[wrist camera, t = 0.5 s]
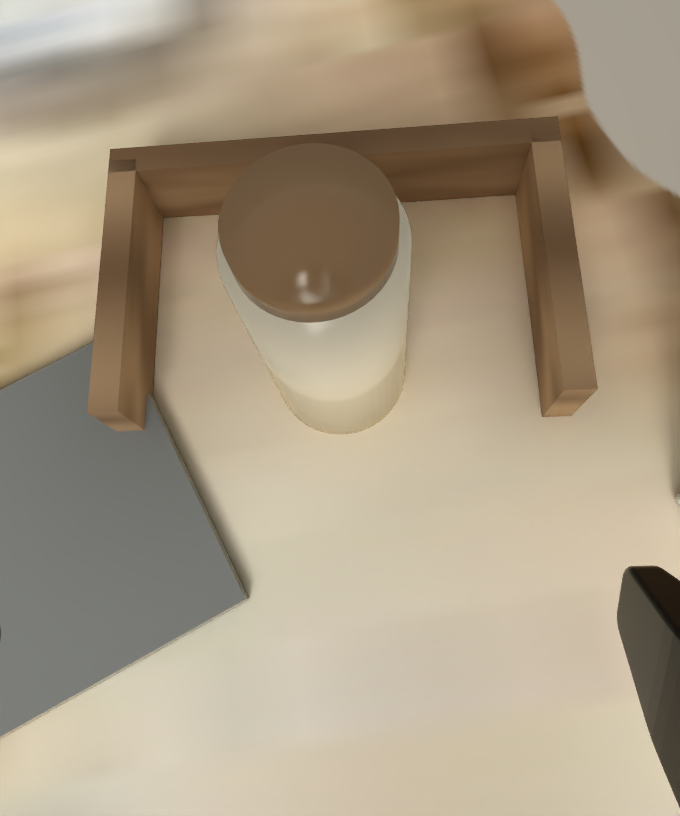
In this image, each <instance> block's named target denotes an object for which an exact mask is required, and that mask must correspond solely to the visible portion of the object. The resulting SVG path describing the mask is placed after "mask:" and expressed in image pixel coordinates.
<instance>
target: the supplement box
mask: <svg viewBox="0 0 680 816" xmlns="http://www.w3.org/2000/svg"><path fill="white" fill-rule="evenodd" d="M675 500H676V502H677V503H678V504H679V506H680V493H679V494H677V495H676V497H675Z"/></svg>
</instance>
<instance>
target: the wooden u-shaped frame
mask: <svg viewBox="0 0 680 816" xmlns="http://www.w3.org/2000/svg"><path fill="white" fill-rule="evenodd" d="M306 143H324V144H331V145H336V146H340V147H344V148H347V149H349V150H352V151H354V152H356V153H358V154H360V155H362V156H364V157H365V158H367V159H368V160H369V161H371V162H372V163H374V164H375V165H376V166H377V167H378V168H379V169H380V170H381V171H382V173H383V174H384V175H385V176H386V178H387V179H388V181H389V182H390V184H391V186H392V188H393V190H394V192H395V195H396V197H397V198H398V199H399V201H400V202H409V201H424V200H440V199H455V198H470V197H485V196H500V195H515V194H516V201H517V209H518V218H519V226H520V234H521V243H522V251H523V259H524V268H525V276H526V285H527V293H528V301H529V310H530V318H531V326H532V335H533V343H534V351H535V360H536V368H537V376H538V385H539V393H540V402H541V410H542V417H551V416H572V415H573V414H574V412H575V411H576V410H577V409H578V408H579V407H580V406H581V405H582V404H583V403H584V402H585V401H586V400H587V399H588V398H589V397H590V396H591V395H592V394H593V393H594V392H595V391H596V390H597V389H598V388H597V381H596V375H595V368H594V361H593V354H592V347H591V341H590V334H589V327H588V320H587V313H586V307H585V300H584V293H583V286H582V279H581V272H580V266H579V259H578V252H577V245H576V238H575V232H574V225H573V218H572V211H571V204H570V197H569V191H568V184H567V177H566V170H565V163H564V157H563V150H562V143H561V136H560V129H559V123H558V116H556V117H543V118H529V119H515V120H502V121H488V122H474V123H461V124H447V125H434V126H420V127H406V128H393V129H379V130H365V131H352V132H338V133H325V134H311V135H297V136H284V137H270V138H257V139H243V140H229V141H216V142H202V143H188V144H175V145H161V146H148V147H134V148H120V149H110V158H109V170H108V181H107V192H106V204H105V215H104V226H103V237H102V249H101V260H100V271H99V283H98V294H97V305H96V317H95V328H94V339H93V351H92V362H91V373H90V385H89V396H88V407H87V413H88V414H90V415H91V416H93V417H95V418H96V419H98V420H99V421H101V422H103V423H104V424H106V425H107V426H109V427H111V428H112V429H114V430H115V431H139V430H145V415H146V398H147V393H148V394H150V395H151V396H152V397H153V383H154V366H155V349H156V332H157V315H158V298H159V281H160V264H161V247H162V230H163V218H168V217H183V216H198V215H213V214H220V210H221V207H222V204H223V201H224V199H225V197H226V194H227V192H228V191H229V189H230V187H231V186H232V184H233V183H234V182H235V180H236V179H237V178H238V177H239V176H240V174H241V173H242V172H243V171H245V170H246V169H247V168H248V167H249V166H250V165H252V164H253V163H254V162H256V161H257V160H258V159H260V158H262V157H264V156H265V155H267V154H269V153H271V152H274V151H276V150H278V149H282V148H285V147H288V146H293V145H298V144H306Z"/></svg>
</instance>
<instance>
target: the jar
mask: <svg viewBox="0 0 680 816" xmlns="http://www.w3.org/2000/svg"><path fill="white" fill-rule="evenodd" d="M411 253H412V234H411V228H410V223H409V219H408V217H407V214H406V212H405V209H404V208H403V206H402V204H401V202H400V201H399V199H398V198H397V197H396V195H395V192H394V190H393V188H392V186H391V184H390V182H389V181H388V179H387V178H386V176H385V175H384V174H383V173H382V171H381V170H380V169H379V168H378V167H377V166H376V165H375V164H374V163H372V162H371V161H369V160H368V159H367V158H365V157H364V156H362V155H360V154H358V153H356V152H354V151H352V150H349V149H347V148H344V147H340V146H336V145H331V144H324V143H306V144H298V145H293V146H288V147H285V148H282V149H278V150H276V151H274V152H271V153H269V154H267V155H265V156H264V157H262V158H260V159H258V160H257V161H256V162H254V163H253V164H252V165H250V166H249V167H248V168H247V169H246V170H245V171H243V172H242V173H241V174H240V176H239V177H238V178H237V179H236V180H235V182H234V183H233V184H232V186H231V187H230V189H229V191H228V192H227V194H226V197H225V199H224V201H223V204H222V207H221V210H220V215H219V221H218V240H217V255H216V257H217V265H218V270H219V274H220V277H221V280H222V282H223V284H224V287H225V289H226V291H227V293H228V295H229V297H230V298H231V300H232V302H233V304H234V306H235V308H236V310H237V312H238V314H239V315H240V317H241V319H242V321H243V323H244V325H245V327H246V329H247V331H248V333H249V334H250V336H251V338H252V340H253V342H254V344H255V346H256V348H257V350H258V352H259V353H260V355H261V357H262V359H263V361H264V363H265V365H266V367H267V369H268V370H269V372H270V374H271V376H272V378H273V380H274V382H275V384H276V386H277V388H278V389H279V391H280V393H281V395H282V397H283V399H284V401H285V403H286V404H287V406H288V407H289V409H290V410H291V412H292V413H293V414H294V415H295V416H296V417H297V418H298V419H299V420H300V421H302V422H303V423H305V424H306V425H308V426H310V427H312V428H314V429H316V430H319V431H322V432H326V433H331V434H349V433H355V432H358V431H362V430H365V429H367V428H369V427H371V426H373V425H374V424H376V423H378V422H379V421H380V420H382V419H383V418H384V417H385V416H386V415H387V414H388V413H389V412H390V411H391V410H392V408H393V407H394V405H395V404H396V402H397V400H398V398H399V396H400V394H401V391H402V388H403V383H404V372H405V355H406V338H407V321H408V304H409V287H410V270H411Z"/></svg>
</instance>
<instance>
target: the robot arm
mask: <svg viewBox="0 0 680 816" xmlns="http://www.w3.org/2000/svg"><path fill="white" fill-rule="evenodd" d="M617 623H618V629H619V633H620V636H621V639H622V643H623V646H624V649H625V653H626V656H627V660H628V663H629V666H630V670H631V673H632V676H633V680H634V683H635V687H636V690H637V693H638V697H639V700H640V703H641V707H642V710H643V714H644V717H645V720H646V723H647V727H648V730H649V733H650V736H651V739H652V742H653V744H654V747H655V749H656V752H657V754H658V757H659V759H660V762H661V764H662V767H663V769H664V771H665V774H666V776H667V779H668V781H669V783H670V786H671V788H672V791H673V793H674V795H675V798H676V800H677V802H678V805H679V807H680V581H679V580H678V579H677V578H675V577H674V576H672V575H671V574H669V573H668V572H667V571H665V570H664V569H662V568H660V567H658V566H631V567H628V568H627V569H626V570H625V571H624V574H623V578H622V584H621V591H620V597H619V604H618V610H617ZM0 640H1V627H0Z"/></svg>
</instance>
